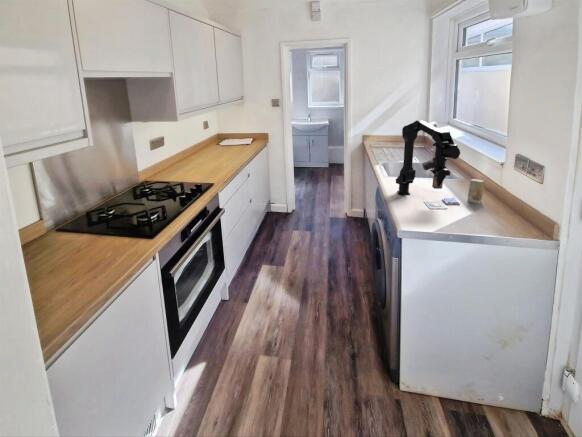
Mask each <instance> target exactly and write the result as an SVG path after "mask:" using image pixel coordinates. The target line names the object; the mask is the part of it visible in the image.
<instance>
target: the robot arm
mask: <svg viewBox="0 0 582 437" xmlns="http://www.w3.org/2000/svg"><path fill="white" fill-rule="evenodd" d="M420 131H421V132H423V133H425V134H427V135H429V136H430V137H431V138H432V140H433V142H434V143H433V144H432V146H433V147H435V148H434V149H435V150H434V156H433V157H432V159H431V160H428V161H425V162H422V168H423V170H424V171H425V172H426V171H428V170H430V172H432V174H433V176H437V186H440V185H441V183H442V182H443V183H444V180H445V179H446V177H448V176H451V170H449V169H448V168H447V166H446V162H447V161H448V159H453V160H457V159H458V158H459V157H460V155H461V149H460V148H459V147H458V144H455V143H454V140H453V137H452V135H451V131H450V130H446V129H440V128H437V127H436V126H434V125H431V124H430V123H428V122H426V120H424V119H419V120H415V121H413V122H411V123H409V124H406V125H404V126H403V127H402V129H401V134H402V135H401V136H402V139H403V141H404V149H403V162H402V163H403V165H402V167H401V169H400V171H399V175H398V177H396V179H395V184H397V185H398V190H397V191H396V192H397V194H398V195H406V196H407V195H409V196H410V195H411V193H410V184H413V183H414V180H415V178H416V172H417V171H416V170H415V169H414V167H413V161H414V160H413V158H414V146H415V145H414V143H415V140H416V139H417V138H418V134H419V132H420Z"/></svg>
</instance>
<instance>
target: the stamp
mask: <svg viewBox="0 0 582 437" xmlns="http://www.w3.org/2000/svg"><path fill="white" fill-rule="evenodd" d="M443 184H444V181H443V182H442V183H441V185H440V186H437V176H434V175H433V176H432V185H431V187H432V188H433V189H434V190H435V189H437V190H438V189H441V190H442V189H443Z"/></svg>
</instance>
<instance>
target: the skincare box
mask: <svg viewBox="0 0 582 437" xmlns="http://www.w3.org/2000/svg"><path fill="white" fill-rule="evenodd" d="M484 187H485V180H483V179H477V178H472V179H470V182H469V187H468V194H467V202H470V203H474V204H480V203H482V198H483V192H484V189H485V188H484ZM479 202H480V203H479Z"/></svg>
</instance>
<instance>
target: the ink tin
mask: <svg viewBox="0 0 582 437" xmlns="http://www.w3.org/2000/svg"><path fill="white" fill-rule="evenodd" d="M441 201H442V203H444V204H445V206H446V205H447V206H451V205H452V206H457V205H458V206H459V205H461V202H460V201H459V200H458V199H456V198H455V197H442V198H441Z"/></svg>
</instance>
